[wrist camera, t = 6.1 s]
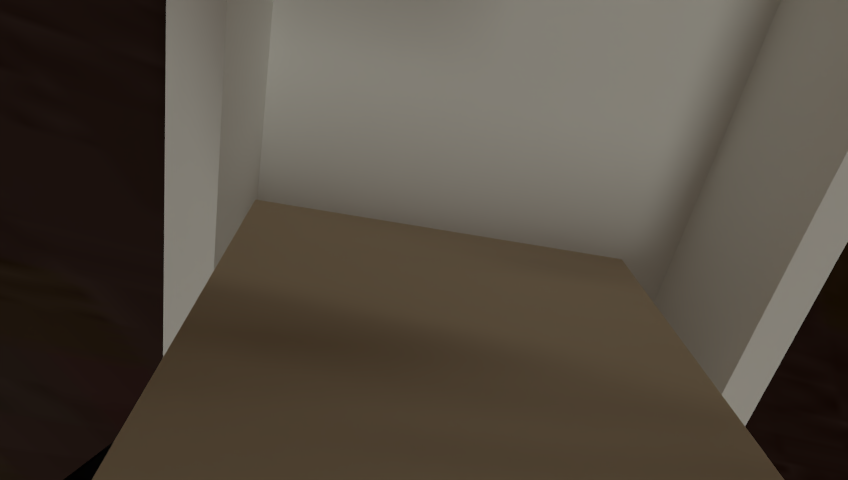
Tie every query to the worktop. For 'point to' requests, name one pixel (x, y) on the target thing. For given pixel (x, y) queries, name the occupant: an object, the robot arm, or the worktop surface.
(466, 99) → the white tote
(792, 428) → the worktop surface
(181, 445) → the oak block
